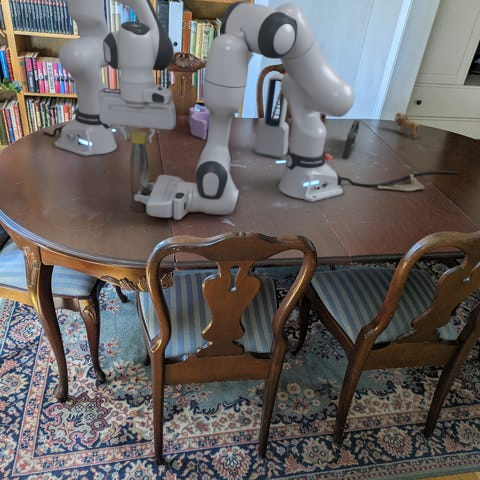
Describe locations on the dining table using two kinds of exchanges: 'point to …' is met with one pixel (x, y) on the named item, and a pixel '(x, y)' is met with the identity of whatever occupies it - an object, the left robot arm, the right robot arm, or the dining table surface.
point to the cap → (138, 137)
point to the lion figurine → (406, 124)
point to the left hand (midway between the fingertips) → (138, 141)
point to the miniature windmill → (278, 100)
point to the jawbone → (405, 186)
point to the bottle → (139, 174)
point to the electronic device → (273, 126)
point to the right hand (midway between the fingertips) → (137, 191)
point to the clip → (199, 122)
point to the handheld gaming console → (351, 139)
